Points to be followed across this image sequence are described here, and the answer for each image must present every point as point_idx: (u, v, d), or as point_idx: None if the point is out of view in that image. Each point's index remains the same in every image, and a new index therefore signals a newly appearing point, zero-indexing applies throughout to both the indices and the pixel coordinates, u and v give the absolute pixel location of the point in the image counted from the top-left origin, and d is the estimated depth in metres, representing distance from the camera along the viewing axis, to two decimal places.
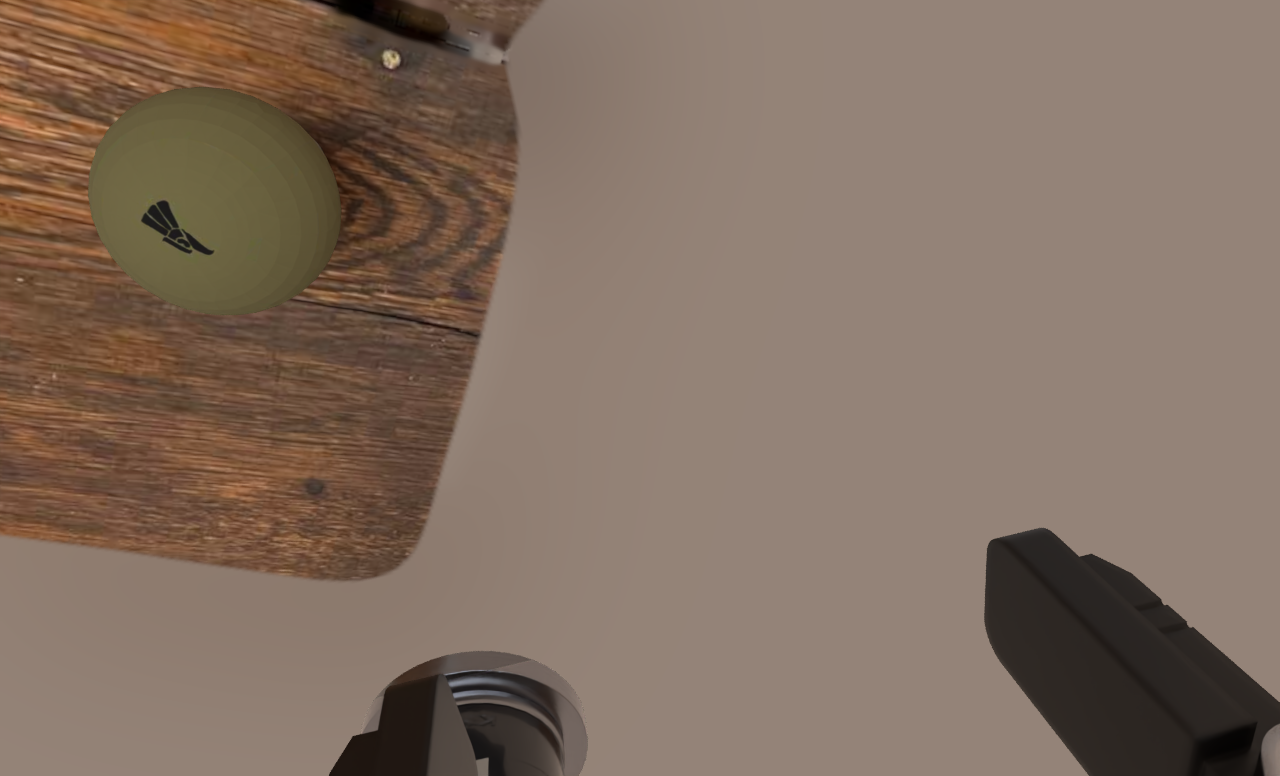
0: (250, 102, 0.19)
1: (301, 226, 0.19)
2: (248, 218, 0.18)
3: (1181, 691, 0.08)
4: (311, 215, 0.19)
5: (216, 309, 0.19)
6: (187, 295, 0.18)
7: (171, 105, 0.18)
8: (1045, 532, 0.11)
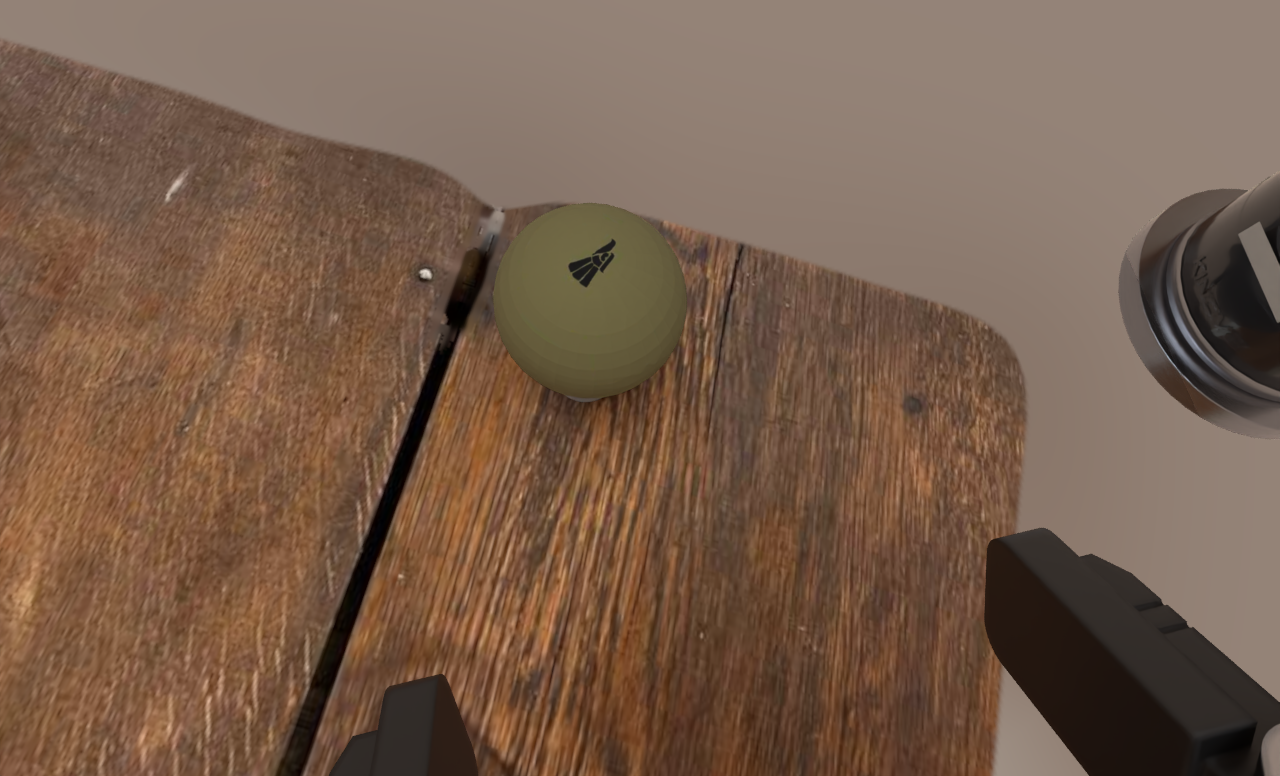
0: None
1: None
2: (585, 216, 0.21)
3: (1181, 691, 0.08)
4: None
5: (673, 277, 0.21)
6: (656, 282, 0.21)
7: (500, 291, 0.21)
8: (1046, 532, 0.11)
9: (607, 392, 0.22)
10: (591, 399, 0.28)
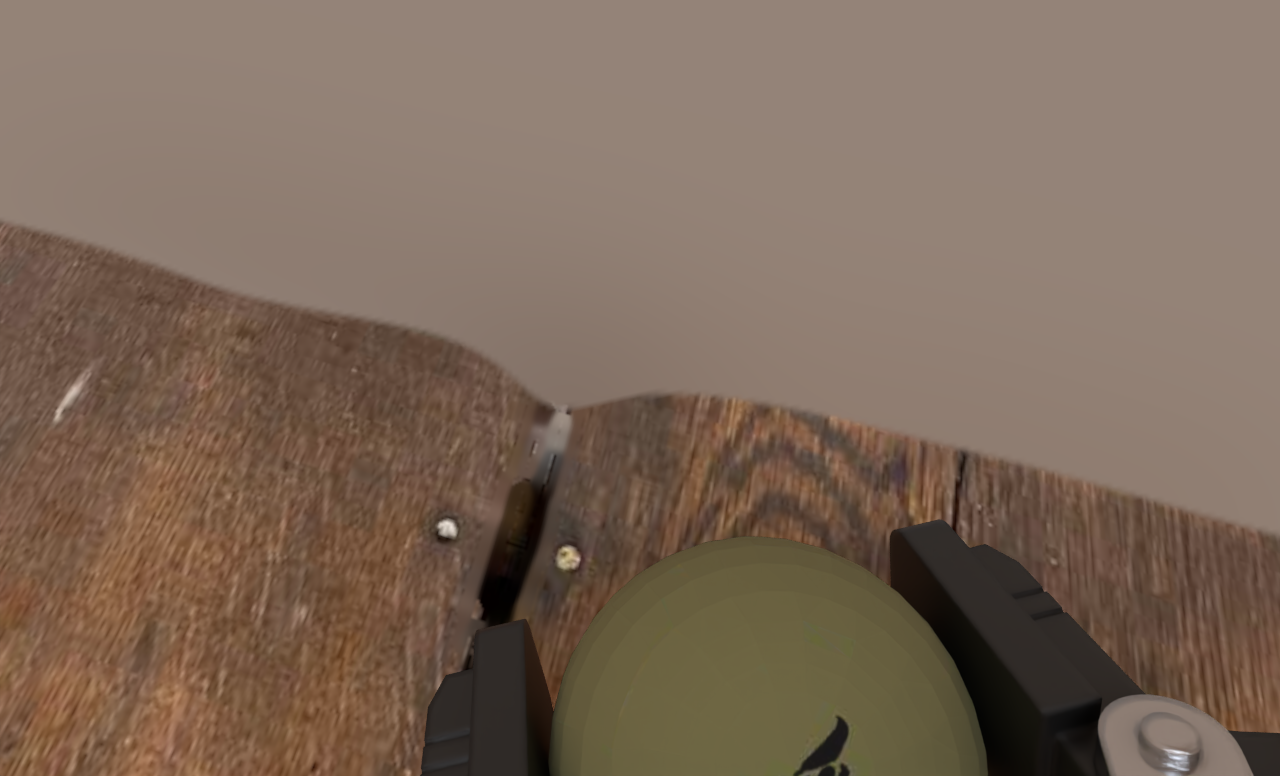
0: (569, 661, 0.10)
1: (778, 563, 0.10)
2: (762, 638, 0.08)
3: (1038, 670, 0.09)
4: (757, 551, 0.10)
5: (976, 762, 0.09)
6: None
7: None
8: (942, 523, 0.11)
9: None
10: None
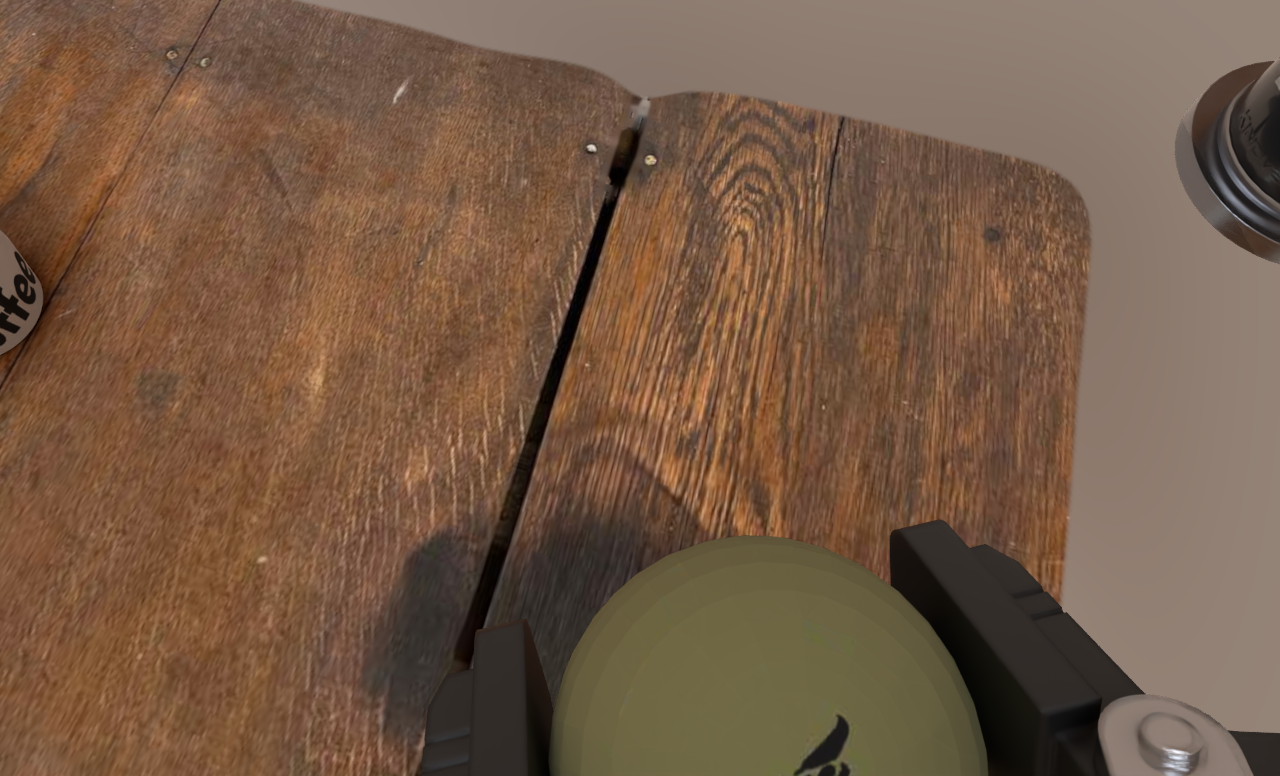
0: (569, 660, 0.10)
1: (778, 562, 0.10)
2: (763, 636, 0.08)
3: (1038, 670, 0.09)
4: (758, 550, 0.10)
5: (977, 761, 0.09)
6: None
7: None
8: (942, 523, 0.11)
9: None
10: None
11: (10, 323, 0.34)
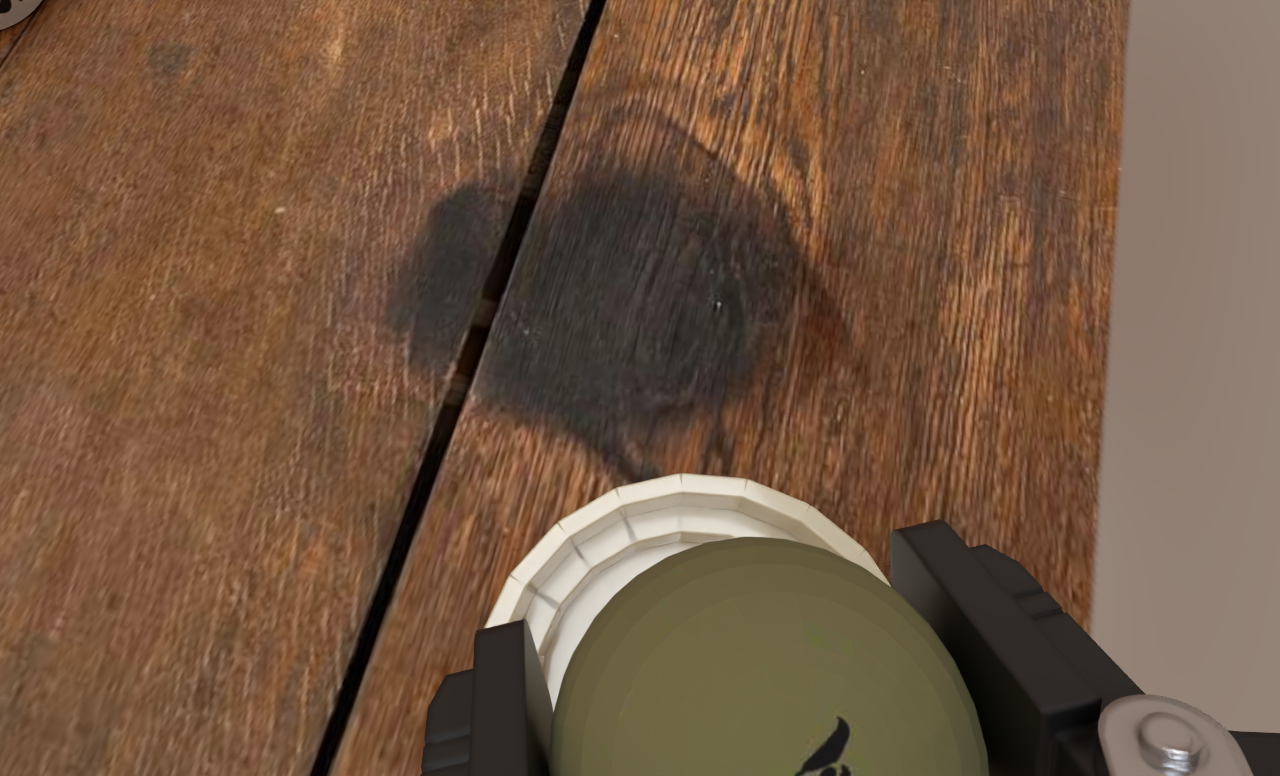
0: (569, 662, 0.10)
1: (779, 563, 0.10)
2: (762, 639, 0.08)
3: (1038, 670, 0.09)
4: (758, 551, 0.10)
5: (978, 763, 0.09)
6: None
7: None
8: (942, 522, 0.11)
9: None
10: None
11: None
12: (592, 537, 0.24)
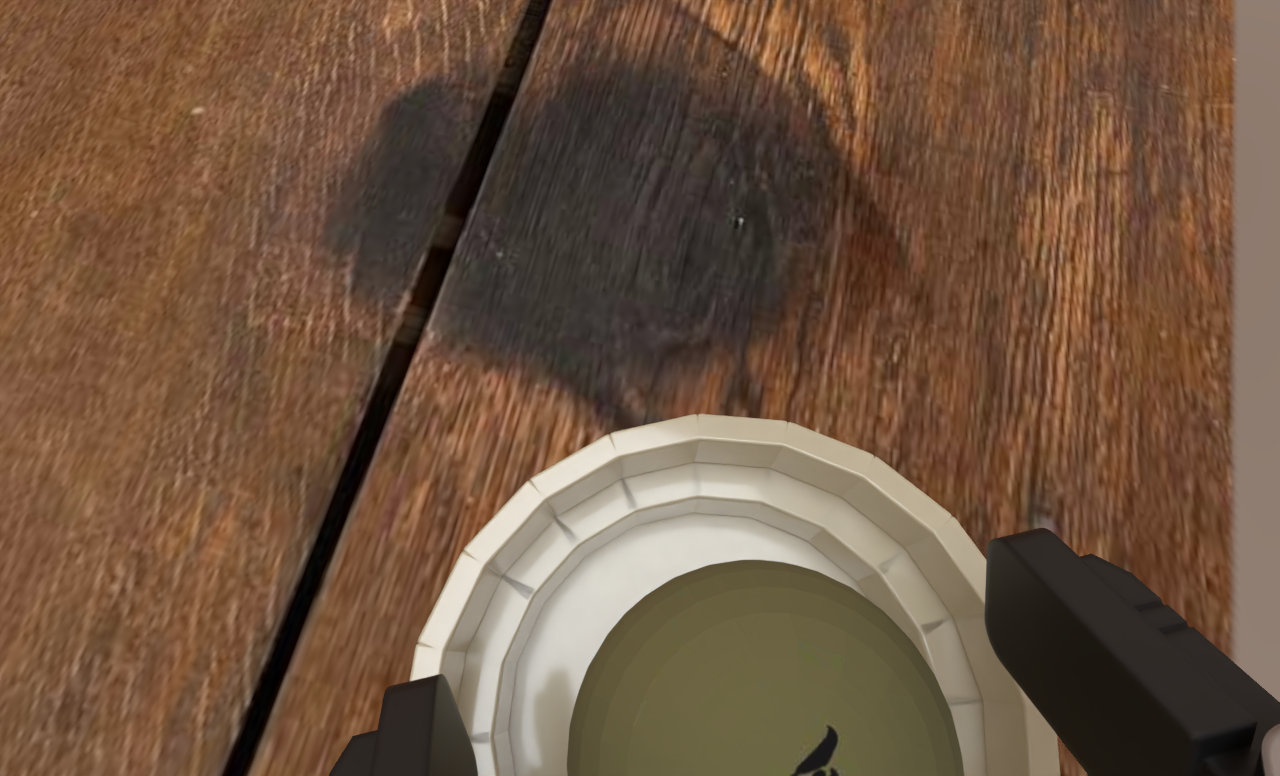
0: (585, 674, 0.11)
1: (775, 586, 0.11)
2: (761, 656, 0.10)
3: (1181, 691, 0.08)
4: (757, 575, 0.11)
5: (952, 767, 0.10)
6: None
7: None
8: (1045, 531, 0.11)
9: None
10: None
11: None
12: (579, 504, 0.18)
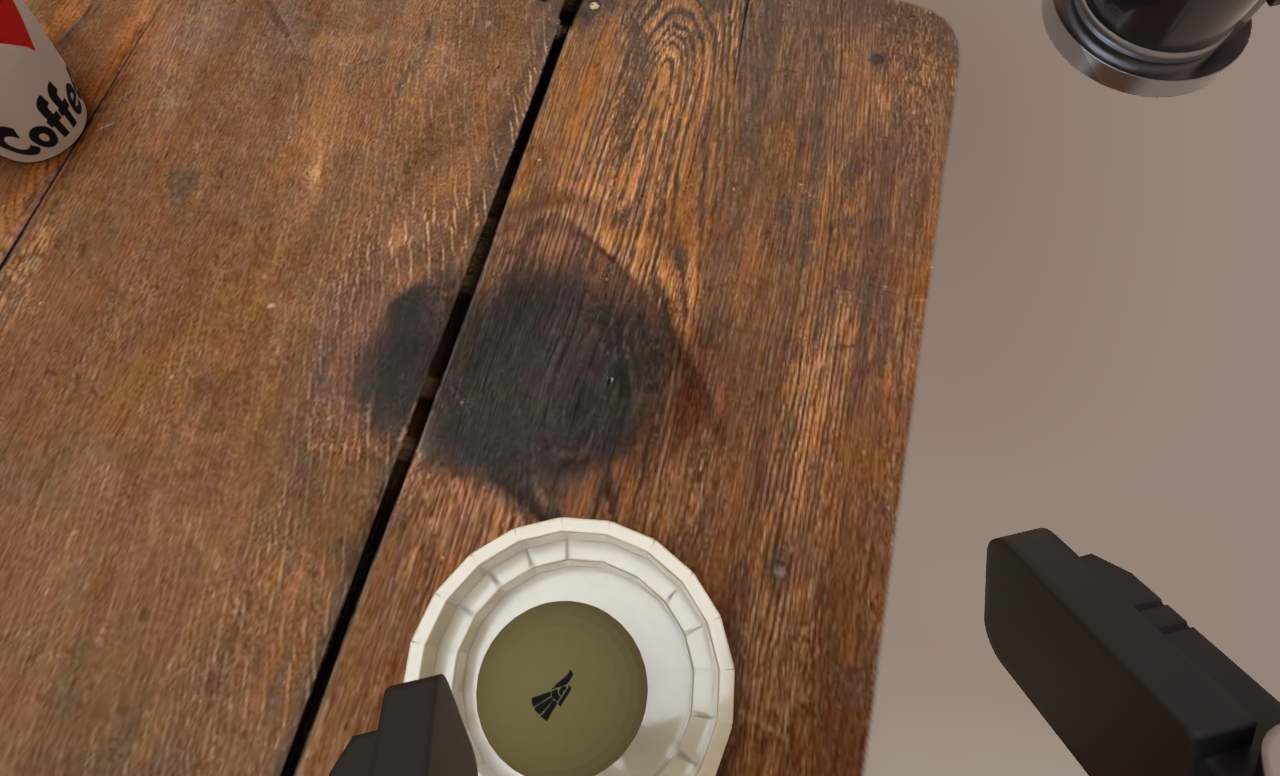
0: None
1: (563, 614, 0.25)
2: (548, 643, 0.24)
3: (1181, 691, 0.08)
4: (558, 609, 0.25)
5: (629, 688, 0.24)
6: (611, 703, 0.23)
7: (479, 701, 0.24)
8: (1045, 532, 0.11)
9: None
10: None
11: (62, 125, 0.41)
12: (501, 564, 0.32)
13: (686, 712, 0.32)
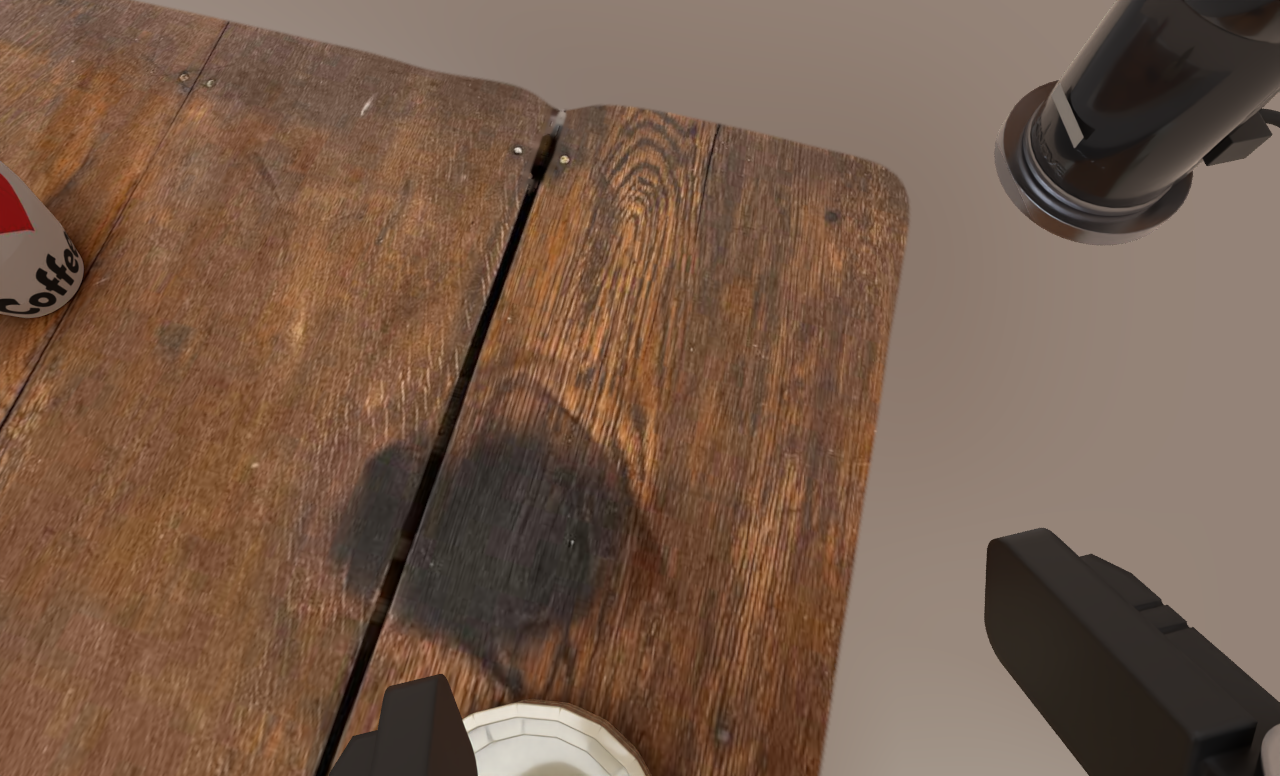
0: None
1: None
2: None
3: (1181, 691, 0.08)
4: None
5: None
6: None
7: None
8: (1046, 532, 0.11)
9: None
10: None
11: (60, 287, 0.44)
12: None
13: None
